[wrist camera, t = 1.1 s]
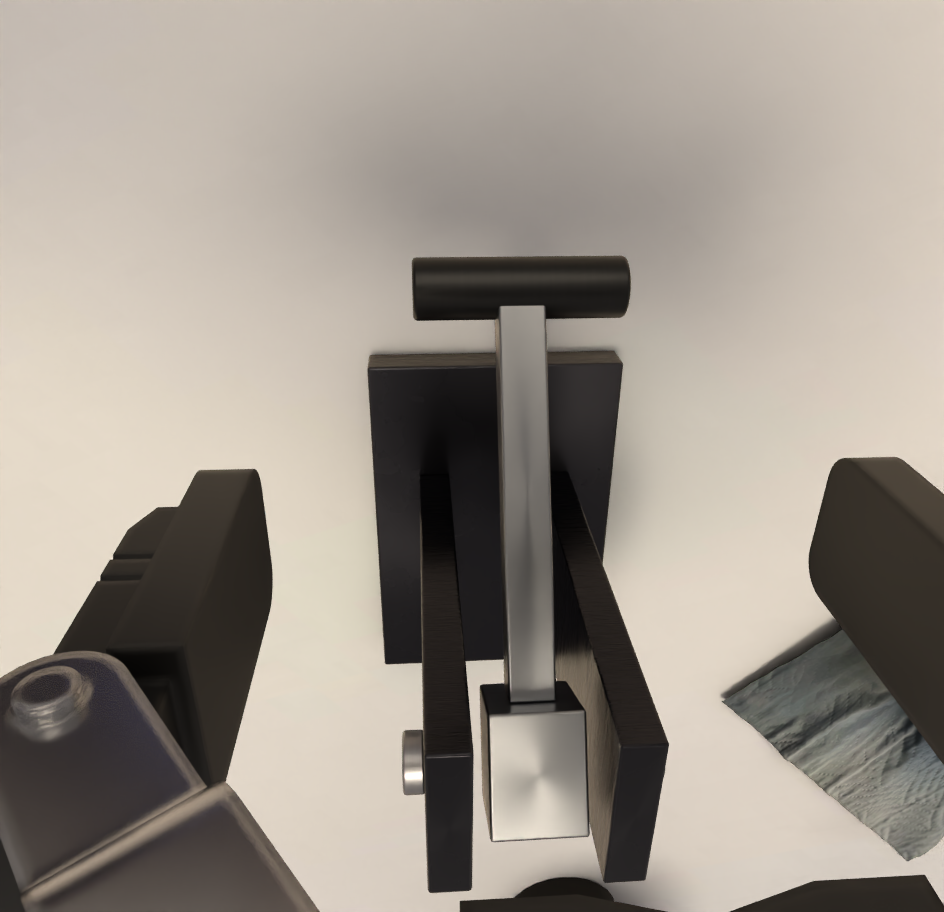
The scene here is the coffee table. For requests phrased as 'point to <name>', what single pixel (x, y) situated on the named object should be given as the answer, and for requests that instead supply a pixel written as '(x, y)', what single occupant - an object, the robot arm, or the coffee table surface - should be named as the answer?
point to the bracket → (480, 589)
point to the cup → (567, 889)
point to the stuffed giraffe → (851, 742)
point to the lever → (526, 528)
